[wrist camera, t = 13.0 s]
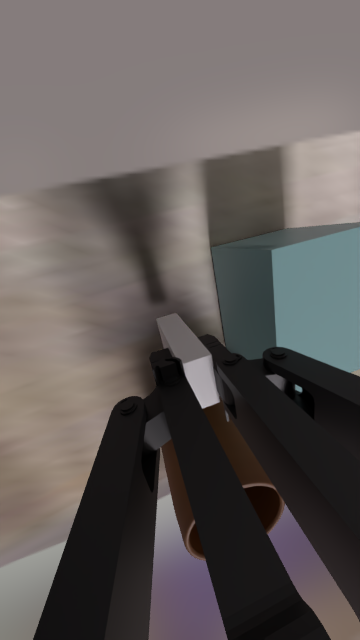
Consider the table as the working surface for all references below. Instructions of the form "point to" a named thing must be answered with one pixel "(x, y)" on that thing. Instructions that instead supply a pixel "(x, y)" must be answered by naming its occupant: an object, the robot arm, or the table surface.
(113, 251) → the table surface
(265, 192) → the table surface
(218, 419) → the mug
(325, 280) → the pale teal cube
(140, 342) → the table surface
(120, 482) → the robot arm
